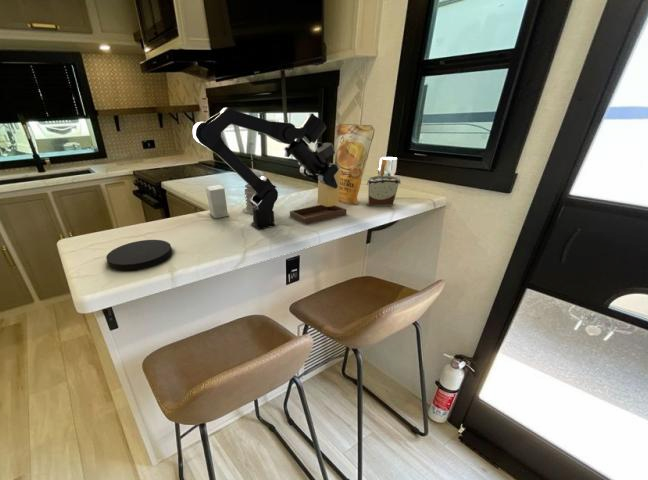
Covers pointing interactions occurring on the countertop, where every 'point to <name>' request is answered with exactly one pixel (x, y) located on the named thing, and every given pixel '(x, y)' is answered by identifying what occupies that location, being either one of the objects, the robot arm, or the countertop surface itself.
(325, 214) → the tray
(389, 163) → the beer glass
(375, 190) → the food container
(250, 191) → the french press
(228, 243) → the countertop surface
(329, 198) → the box
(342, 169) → the pancake mix bag
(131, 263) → the wireless charger
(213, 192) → the small box
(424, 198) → the countertop surface
